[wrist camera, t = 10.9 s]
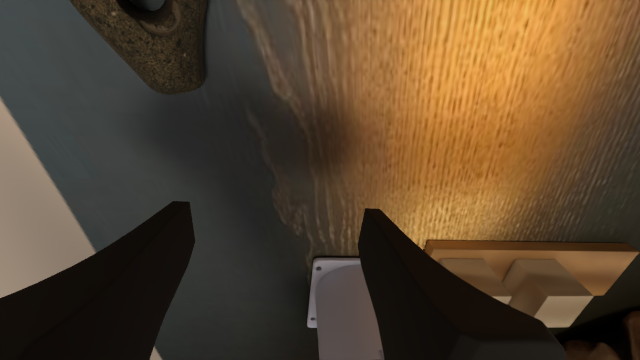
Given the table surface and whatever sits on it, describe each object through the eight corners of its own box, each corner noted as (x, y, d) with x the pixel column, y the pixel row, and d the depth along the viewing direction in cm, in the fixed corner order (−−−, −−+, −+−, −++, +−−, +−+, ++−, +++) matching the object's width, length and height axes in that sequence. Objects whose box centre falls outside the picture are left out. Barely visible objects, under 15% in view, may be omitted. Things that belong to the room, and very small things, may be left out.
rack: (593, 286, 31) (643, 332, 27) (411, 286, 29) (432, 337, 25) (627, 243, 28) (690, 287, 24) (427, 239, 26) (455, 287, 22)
